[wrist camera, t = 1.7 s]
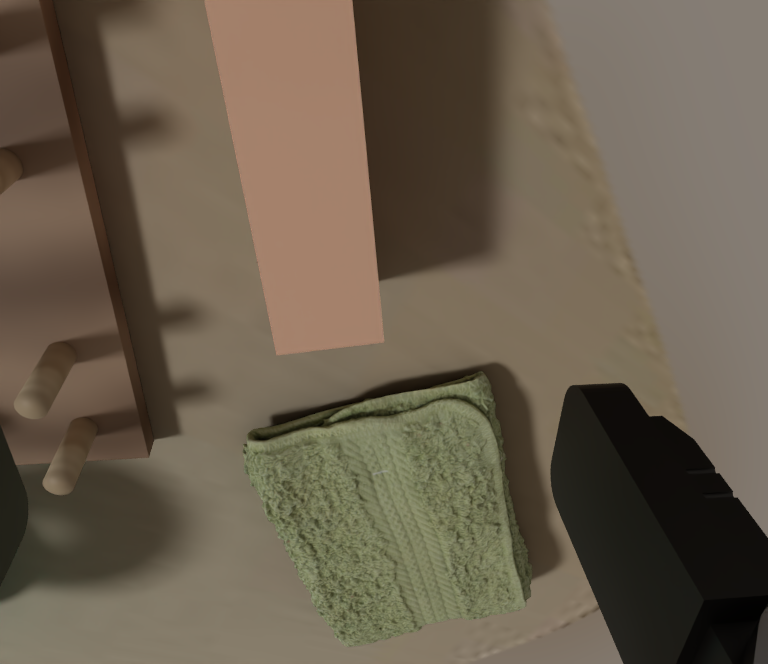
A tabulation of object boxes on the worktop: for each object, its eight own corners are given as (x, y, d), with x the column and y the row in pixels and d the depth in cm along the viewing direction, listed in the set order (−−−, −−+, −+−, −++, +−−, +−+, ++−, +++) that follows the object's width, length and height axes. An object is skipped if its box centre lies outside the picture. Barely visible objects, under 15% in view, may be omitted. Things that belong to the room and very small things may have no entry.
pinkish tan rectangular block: (209, -95, 21) (184, -99, 16) (334, -107, 21) (341, -114, 17) (281, 290, 28) (276, 355, 24) (372, 279, 28) (384, 342, 24)
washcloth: (484, 348, 31) (501, 388, 28) (531, 572, 41) (547, 618, 38) (224, 418, 32) (217, 464, 29) (330, 622, 41) (332, 671, 39)
